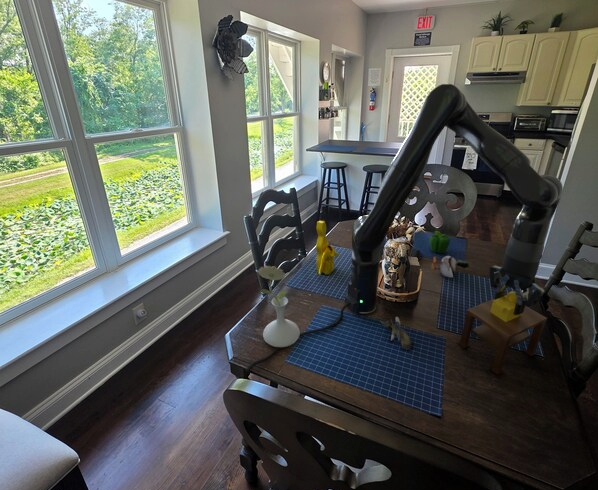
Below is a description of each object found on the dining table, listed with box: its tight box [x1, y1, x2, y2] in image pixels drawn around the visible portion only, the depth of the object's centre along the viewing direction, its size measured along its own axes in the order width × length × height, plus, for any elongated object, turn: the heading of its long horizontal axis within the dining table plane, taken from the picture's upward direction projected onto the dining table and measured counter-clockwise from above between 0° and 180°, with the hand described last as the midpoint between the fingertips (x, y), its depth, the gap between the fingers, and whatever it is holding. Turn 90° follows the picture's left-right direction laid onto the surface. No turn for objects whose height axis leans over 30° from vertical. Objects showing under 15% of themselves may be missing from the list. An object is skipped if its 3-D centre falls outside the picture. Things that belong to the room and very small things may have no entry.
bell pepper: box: [429, 230, 451, 254], centre depth 147 cm, size 8×8×10 cm
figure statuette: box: [315, 220, 340, 275], centre depth 132 cm, size 18×8×22 cm, turn 148°
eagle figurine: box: [380, 316, 413, 350], centre depth 97 cm, size 8×7×9 cm
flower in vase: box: [257, 265, 301, 349], centre depth 96 cm, size 13×11×25 cm
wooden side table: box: [458, 294, 548, 375], centre depth 91 cm, size 16×12×13 cm
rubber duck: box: [490, 291, 521, 322], centre depth 87 cm, size 8×5×6 cm, turn 115°
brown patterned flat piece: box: [380, 239, 422, 260], centre depth 147 cm, size 15×22×5 cm
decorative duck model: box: [430, 255, 470, 279], centre depth 129 cm, size 15×8×15 cm
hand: (507, 308), depth 88 cm, fingers closed on rubber duck, 4 cm apart
